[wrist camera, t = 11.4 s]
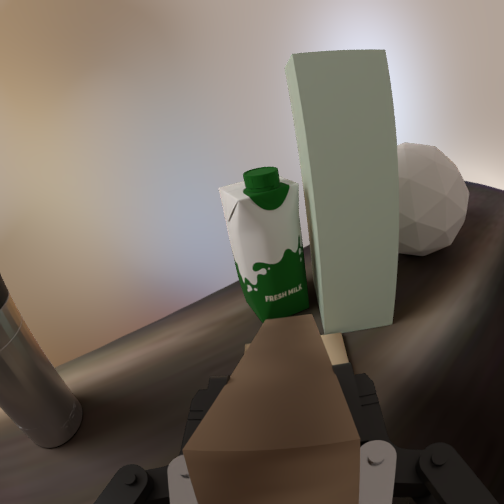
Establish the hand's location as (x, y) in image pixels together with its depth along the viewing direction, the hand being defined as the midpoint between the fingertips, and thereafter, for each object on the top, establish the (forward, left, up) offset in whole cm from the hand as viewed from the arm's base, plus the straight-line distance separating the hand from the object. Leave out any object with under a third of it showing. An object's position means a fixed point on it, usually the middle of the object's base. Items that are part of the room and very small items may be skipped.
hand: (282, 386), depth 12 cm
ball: (+24, +41, -18) cm, 51 cm away
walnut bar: (0, +2, -5) cm, 6 cm away
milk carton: (-2, +30, -18) cm, 35 cm away
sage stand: (+8, +28, -18) cm, 34 cm away
